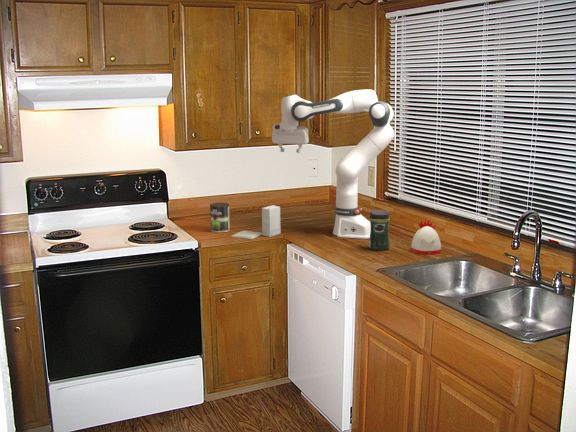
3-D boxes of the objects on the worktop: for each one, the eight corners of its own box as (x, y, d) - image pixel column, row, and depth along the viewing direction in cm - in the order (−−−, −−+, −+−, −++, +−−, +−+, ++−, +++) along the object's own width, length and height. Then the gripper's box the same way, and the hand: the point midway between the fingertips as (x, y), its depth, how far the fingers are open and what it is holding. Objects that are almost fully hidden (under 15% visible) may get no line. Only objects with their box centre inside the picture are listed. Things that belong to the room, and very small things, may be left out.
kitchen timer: (410, 246, 313) (410, 215, 310) (439, 246, 312) (440, 216, 308) (412, 254, 300) (413, 222, 296) (442, 254, 298) (444, 222, 295)
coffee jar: (389, 246, 313) (390, 208, 309) (389, 251, 305) (390, 212, 301) (369, 246, 314) (369, 208, 310) (368, 250, 307) (369, 211, 303)
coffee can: (223, 233, 342) (222, 206, 339) (207, 231, 347) (206, 205, 344) (233, 229, 351) (232, 203, 348) (217, 227, 356) (216, 201, 353)
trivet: (263, 234, 340) (263, 232, 340) (251, 239, 329) (251, 237, 329) (243, 231, 345) (243, 230, 345) (231, 236, 335) (231, 235, 334)
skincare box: (273, 232, 343) (272, 204, 340) (281, 234, 339) (281, 206, 336) (261, 235, 337) (261, 207, 334) (269, 237, 333) (269, 208, 330)
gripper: (310, 125, 339) (310, 152, 342) (275, 125, 349) (276, 150, 351) (305, 126, 334) (305, 153, 337) (270, 125, 343) (270, 152, 346)
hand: (290, 152), depth 344 cm, fingers open, 8 cm apart
